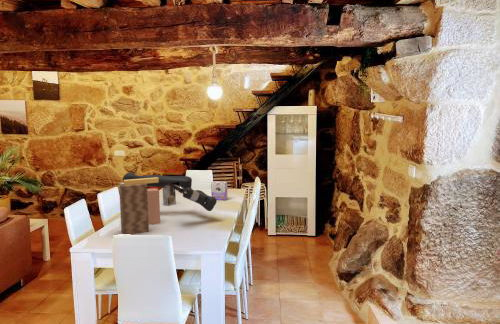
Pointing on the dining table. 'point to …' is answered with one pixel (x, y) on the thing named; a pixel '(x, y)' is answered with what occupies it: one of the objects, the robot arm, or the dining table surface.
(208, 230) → the dining table surface
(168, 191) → the coffee box
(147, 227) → the plinth
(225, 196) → the candy box
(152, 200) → the terracotta base
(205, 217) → the dining table surface
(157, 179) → the dowel
